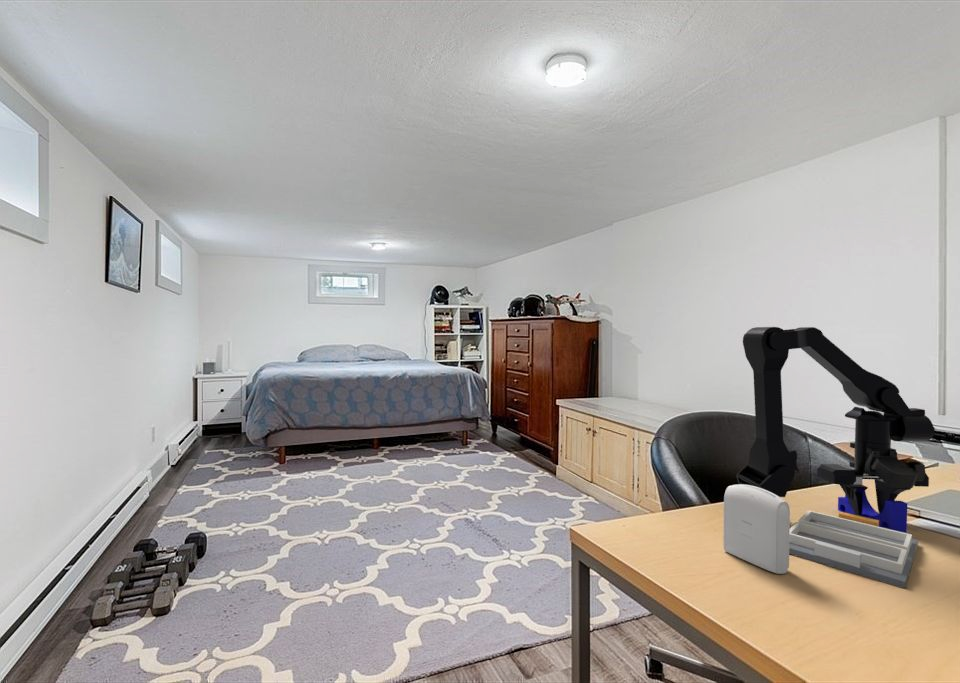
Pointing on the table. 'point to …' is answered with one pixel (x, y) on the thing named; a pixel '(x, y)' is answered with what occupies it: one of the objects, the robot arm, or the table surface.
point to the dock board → (854, 546)
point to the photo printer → (757, 527)
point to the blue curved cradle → (888, 518)
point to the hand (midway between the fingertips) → (870, 516)
